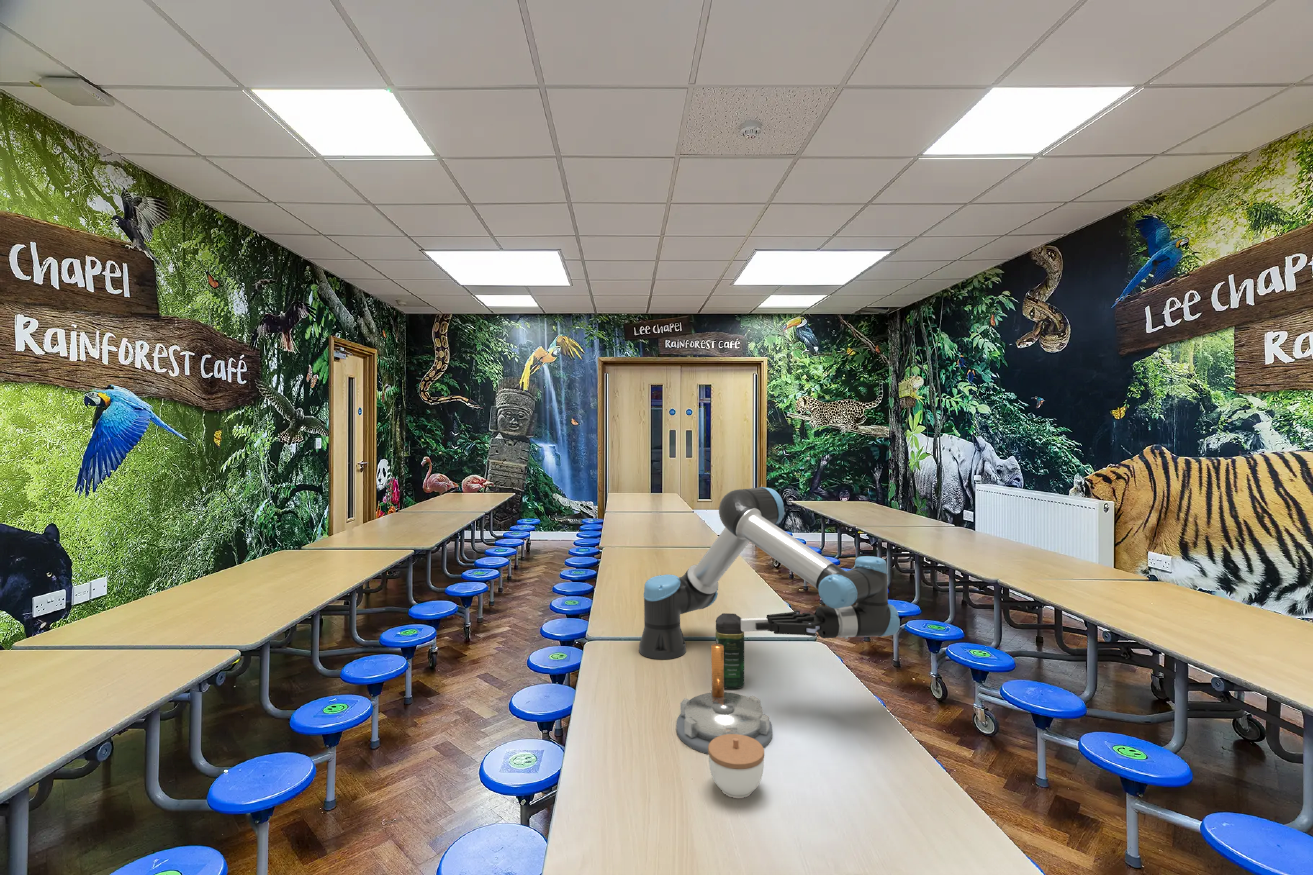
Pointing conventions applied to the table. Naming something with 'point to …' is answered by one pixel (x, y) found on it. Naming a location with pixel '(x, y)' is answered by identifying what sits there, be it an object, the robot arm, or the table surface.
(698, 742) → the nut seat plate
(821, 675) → the table surface
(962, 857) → the table surface
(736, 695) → the lugged metal dome
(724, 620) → the coffee jar
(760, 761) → the lidded jar
